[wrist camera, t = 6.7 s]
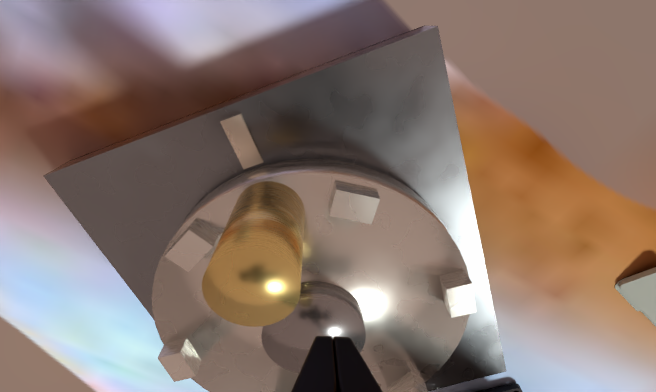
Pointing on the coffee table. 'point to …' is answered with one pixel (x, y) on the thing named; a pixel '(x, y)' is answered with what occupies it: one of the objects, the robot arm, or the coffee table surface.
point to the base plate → (293, 144)
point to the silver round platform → (309, 279)
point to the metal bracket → (640, 292)
